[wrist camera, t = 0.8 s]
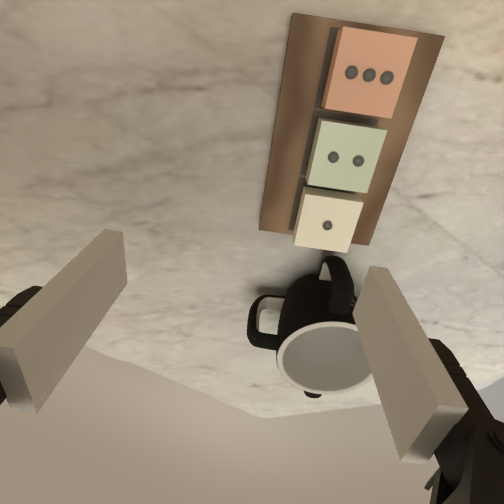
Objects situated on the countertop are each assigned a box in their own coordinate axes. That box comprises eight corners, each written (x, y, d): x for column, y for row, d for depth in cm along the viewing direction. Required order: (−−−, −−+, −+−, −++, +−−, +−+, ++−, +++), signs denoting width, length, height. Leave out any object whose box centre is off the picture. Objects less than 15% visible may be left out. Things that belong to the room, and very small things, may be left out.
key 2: (305, 177, 33) (307, 185, 31) (318, 117, 30) (322, 121, 28) (361, 185, 34) (367, 194, 31) (379, 126, 31) (388, 130, 28)
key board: (259, 223, 41) (258, 230, 39) (291, 16, 30) (292, 12, 28) (364, 238, 41) (368, 246, 39) (435, 38, 30) (445, 36, 28)
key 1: (292, 235, 37) (293, 246, 35) (303, 186, 34) (305, 195, 32) (343, 242, 37) (347, 254, 35) (358, 194, 34) (364, 203, 32)
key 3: (321, 106, 30) (325, 109, 28) (338, 29, 27) (344, 25, 25) (383, 115, 30) (392, 119, 28) (406, 40, 27) (419, 37, 25)
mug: (389, 314, 47) (422, 382, 37) (295, 350, 52) (300, 419, 42) (344, 230, 41) (368, 284, 31) (242, 280, 46) (232, 341, 36)
